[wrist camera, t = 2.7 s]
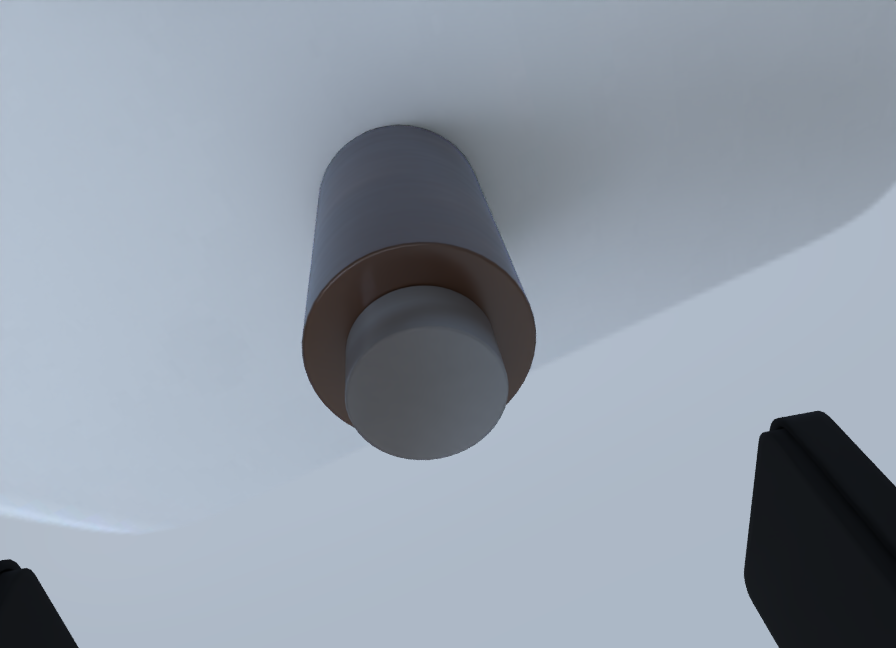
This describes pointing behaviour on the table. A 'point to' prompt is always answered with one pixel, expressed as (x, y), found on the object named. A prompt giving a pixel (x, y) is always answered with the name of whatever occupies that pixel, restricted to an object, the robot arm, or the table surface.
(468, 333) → the pepper mill
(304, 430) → the table surface
